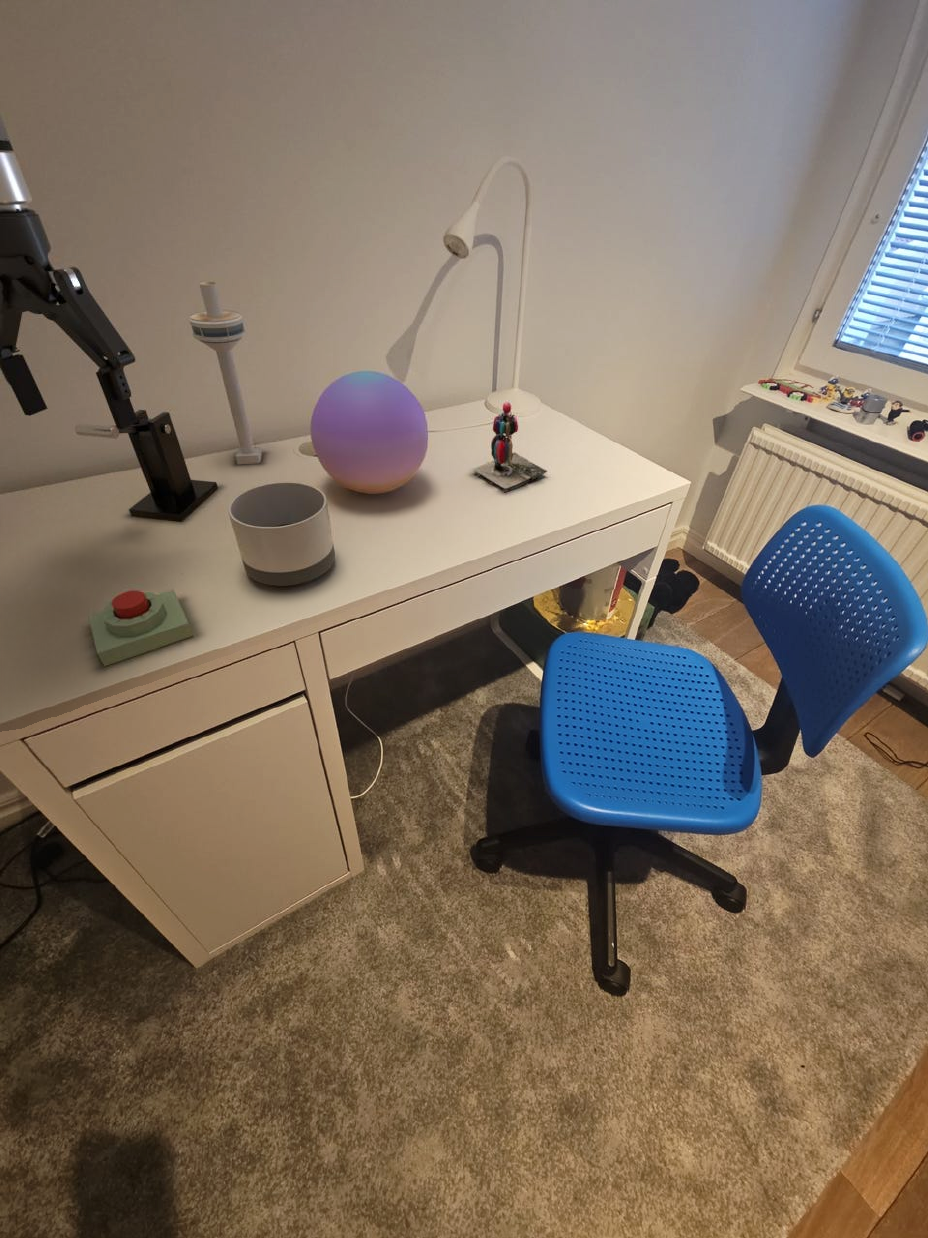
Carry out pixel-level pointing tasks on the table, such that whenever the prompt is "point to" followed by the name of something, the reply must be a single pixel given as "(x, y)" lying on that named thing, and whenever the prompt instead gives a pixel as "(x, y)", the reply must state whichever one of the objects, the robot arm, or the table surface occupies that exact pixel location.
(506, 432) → the statue
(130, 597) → the button
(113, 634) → the button base
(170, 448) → the bracket
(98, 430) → the lever
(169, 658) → the table surface
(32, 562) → the table surface
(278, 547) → the planter
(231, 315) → the model tower
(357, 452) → the ball
